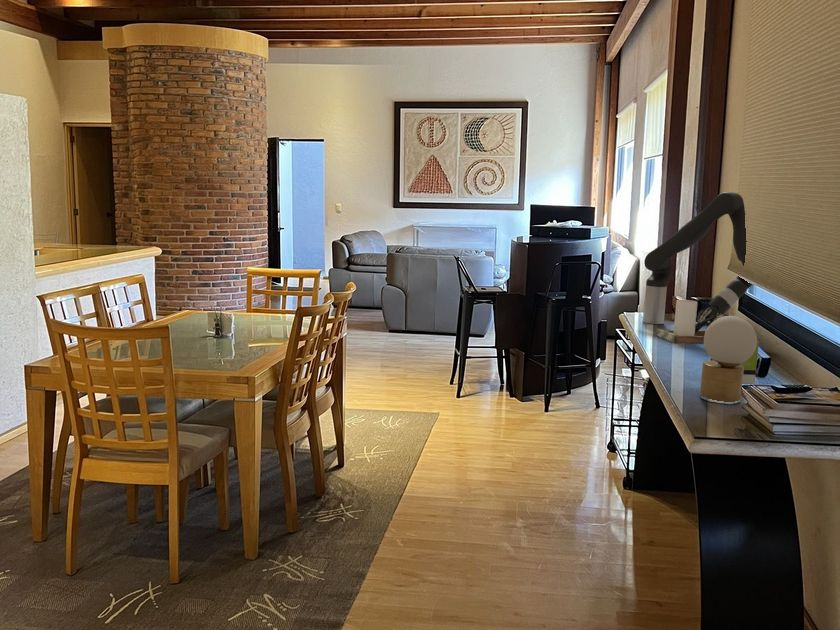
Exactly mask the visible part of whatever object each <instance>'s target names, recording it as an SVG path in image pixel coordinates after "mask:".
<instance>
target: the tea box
mask: <svg viewBox="0 0 840 630" xmlns="http://www.w3.org/2000/svg"><path fill="white" fill-rule="evenodd" d="M759 343H760V342H759V340H757V346H756V349H755V352H754V353H753V355H752V356H751V357H750V358H749V359H748V360H747V361H745V362H743V363H742V364H740V365H742V366H744V373H743V382H742V384H754V385H755V382H756V374H757V373H756V372H757V361H758V355H759V354H758V353H759ZM709 357H710V356H709ZM711 360H713V359H712V358H711V357H710V358H709V361H711Z"/></svg>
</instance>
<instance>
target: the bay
mask: <svg viewBox="0 0 840 630" xmlns="http://www.w3.org/2000/svg"><path fill="white" fill-rule="evenodd" d="M706 330H707V329H705V330H703V329H700V330H699V331H698V332H695V334H694V336H678V335H675V334H673V333H674V329H662V328H656V335H657V336H656V337H658V336H659V337H658V338H661V337H662V338H661V339H663V338H664V340H666V339H667V340H666V341H668V340H669V341H668V342H671V343H673V342H674V344H689V343H690V344H704V335H705V332H706Z"/></svg>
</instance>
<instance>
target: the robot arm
mask: <svg viewBox="0 0 840 630" xmlns="http://www.w3.org/2000/svg"><path fill="white" fill-rule="evenodd" d="M725 215H728V216H729V218H730V221H731V224H732V233H733V234H732V243H733V247H734V252H735V254H736V257H737V259H738V261H739V262H741V264H742V267H743V266H744V263H745V255H746V242H747V241H746V228H745V215H746V210H745V202H744V198H743V196H742V195H741V194H739V193H737V192H730V191H723V192H721V193H719V194H718V195H717V196H715V198H714V199H712V201H711V202H710V203H709V204H708V205H707V206H706V207H704V209H703V210H702V211H700V212H699V213H698V214H697V215H695V216H694V217H693V218H692V219H690V220H689V221H688V222H686V223H685V224H684V225H683V226H681V227H680V228H679V229H678V230H677V231H676V232H675V233H674V234H672V235H671V236H670V237H669V238H668V239H666V241H664V242H663V243H662V244H660V245H659V246H657V247H656V248H654V249H653V250H651V251H649V252H648V253H647V255H646V256H645V258H644V261H643V262H644V266H645V269H647V270H648V271H651V272H652V273H651V275H650V276H649V277H648V278H647V279H646V280H645V281H646V283H645V284H646V285H645V294H644V295H645V296H644V303H643V313H642V314H643V316H642V322H643V323H645V324H651V325H663V324H664V323H665V311H666V300H667V291H668V289H667V288H668V282H669V281H670V277H671V271H672V270H671V269H672V257H674V256H675V255H677V254H679V253H681V252H683V251H684V250H687V249H689V248H691V247H693V246H694V245H695V244H697V243H698V242H699V241H700V240H702V239H703V238H704V237H705V236H706V234H707V233H708V231H709V229H710V227H711V226H712V225H713V224H714V223H715V222H717V220H719V219H721V218H722V217H724V216H725ZM752 286H753V285H752V284H750V283H748V282H747V281H745V280H744V279H742V278H740V277H739V276H738V275H737V276H736V277H735V279H733V280H732V281H731V282H729V284H727V285H726V287H724V288H723V289H722V290H721V291H720V292H719V293H717V294H716V295H715V296H714V297H713V298H712V299H711V300H710V301H709V303H708V304H709V307H707V308H706V309H705V310H700V311H699V312H698V314H697V316H696V324H695V332H698V331H699V330H702V328H703V327H708V326H709V325H710V324H711V323H712V322H713V321H715V320H716V319H718V318H719V317H720V316H724V315H725V314H726V313H727V312H728V311H729V310H730V309H731V308H732V307H733V306H734V305H735V304H737V301H739V299H741V298H742V296H744V294H746V292H747V291H748V289H749V288H751V287H752Z"/></svg>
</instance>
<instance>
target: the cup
mask: <svg viewBox="0 0 840 630" xmlns="http://www.w3.org/2000/svg"><path fill="white" fill-rule="evenodd" d="M697 311H698V301H696V300H691V299H676V304H675V312H674V313H675V314H674V325H673V330H674V333H673V334H675V335H678V336H694V334H695V325H696V324H697Z"/></svg>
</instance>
